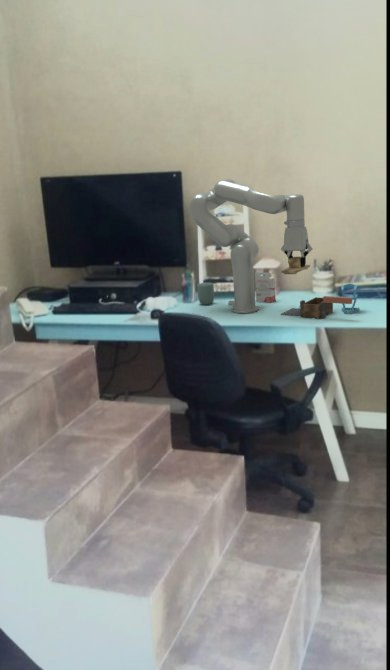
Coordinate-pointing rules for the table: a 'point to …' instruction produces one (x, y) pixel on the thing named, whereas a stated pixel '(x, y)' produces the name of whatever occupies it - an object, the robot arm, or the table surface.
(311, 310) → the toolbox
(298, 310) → the mat
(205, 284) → the cup
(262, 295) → the ink cartridge box
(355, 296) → the chair
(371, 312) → the table surface
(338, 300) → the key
